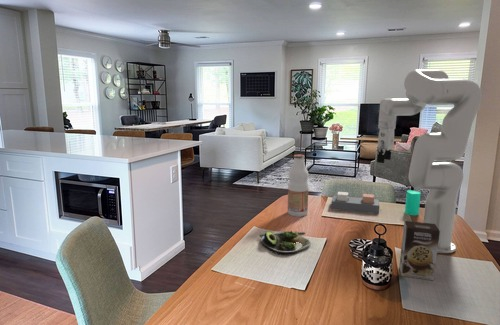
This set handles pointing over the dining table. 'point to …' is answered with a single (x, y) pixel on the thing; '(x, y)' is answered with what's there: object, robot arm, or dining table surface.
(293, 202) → the fruit juice
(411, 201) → the candle
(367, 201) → the key terracotta
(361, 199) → the block
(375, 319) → the dining table surface
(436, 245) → the coffee box
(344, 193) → the key offwhite
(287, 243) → the salad plate
